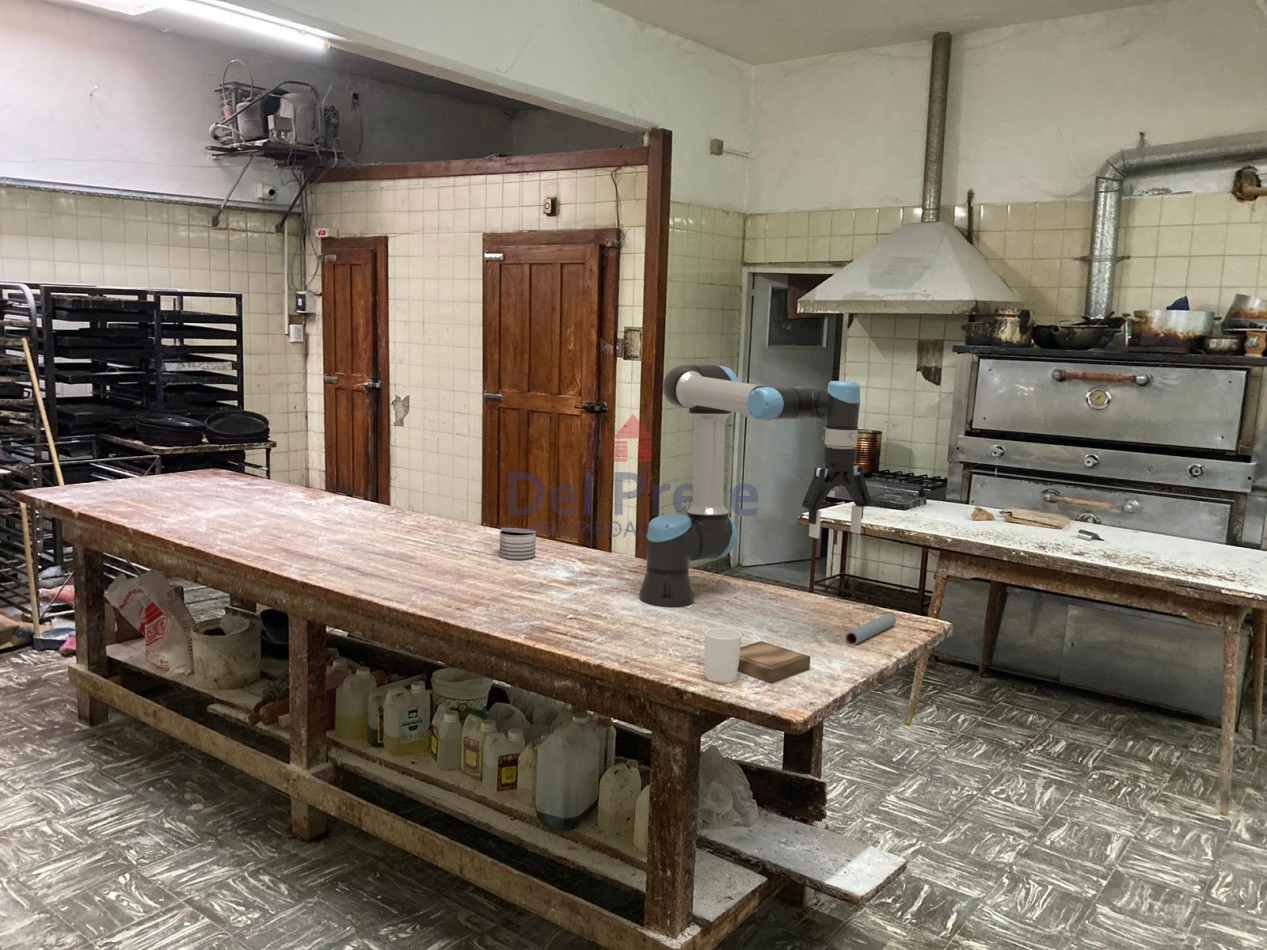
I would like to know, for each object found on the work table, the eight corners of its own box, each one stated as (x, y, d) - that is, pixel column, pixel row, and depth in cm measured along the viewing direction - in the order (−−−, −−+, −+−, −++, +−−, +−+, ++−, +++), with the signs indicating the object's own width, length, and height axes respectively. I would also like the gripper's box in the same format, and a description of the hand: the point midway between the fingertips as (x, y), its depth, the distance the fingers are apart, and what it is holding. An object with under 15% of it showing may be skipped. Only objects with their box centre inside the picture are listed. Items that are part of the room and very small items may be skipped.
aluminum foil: (883, 624, 249) (884, 611, 249) (907, 629, 245) (908, 617, 245) (844, 643, 232) (845, 630, 231) (869, 650, 227) (870, 636, 227)
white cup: (698, 681, 201) (700, 635, 200) (708, 669, 209) (710, 625, 207) (734, 686, 199) (736, 641, 197) (743, 675, 206) (745, 630, 205)
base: (721, 666, 211) (721, 652, 211) (760, 653, 221) (760, 640, 220) (771, 683, 201) (771, 669, 201) (809, 669, 211) (810, 655, 210)
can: (492, 564, 299) (492, 527, 297) (521, 560, 307) (521, 523, 305) (513, 571, 291) (513, 533, 289) (542, 566, 298) (543, 529, 297)
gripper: (812, 450, 213) (807, 542, 216) (889, 446, 227) (883, 533, 230) (790, 446, 219) (785, 536, 222) (866, 443, 233) (860, 527, 236)
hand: (835, 535), depth 226 cm, fingers open, 13 cm apart
